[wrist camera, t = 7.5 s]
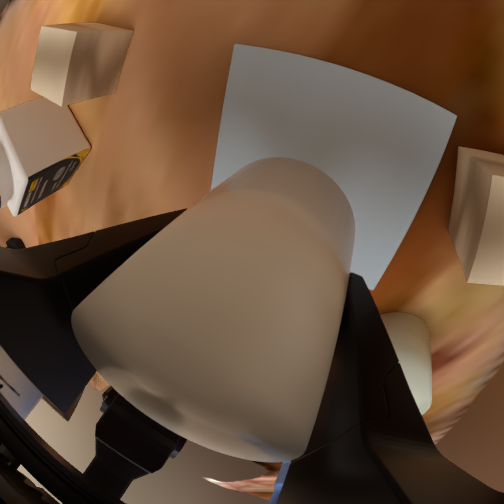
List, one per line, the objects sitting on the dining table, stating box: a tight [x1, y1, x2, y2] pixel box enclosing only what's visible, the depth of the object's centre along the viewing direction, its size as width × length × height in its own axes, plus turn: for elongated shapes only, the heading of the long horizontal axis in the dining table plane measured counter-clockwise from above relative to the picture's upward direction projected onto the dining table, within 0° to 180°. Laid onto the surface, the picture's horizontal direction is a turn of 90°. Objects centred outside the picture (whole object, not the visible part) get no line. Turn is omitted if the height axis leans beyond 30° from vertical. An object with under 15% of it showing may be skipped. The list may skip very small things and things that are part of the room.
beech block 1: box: [31, 22, 134, 107], centre depth 13 cm, size 5×5×5 cm
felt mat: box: [211, 44, 457, 290], centre depth 15 cm, size 12×12×1 cm
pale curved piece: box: [380, 312, 432, 415], centre depth 17 cm, size 6×6×6 cm
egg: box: [71, 157, 356, 462], centre depth 7 cm, size 5×5×7 cm
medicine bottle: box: [0, 97, 91, 216], centre depth 17 cm, size 7×7×12 cm
